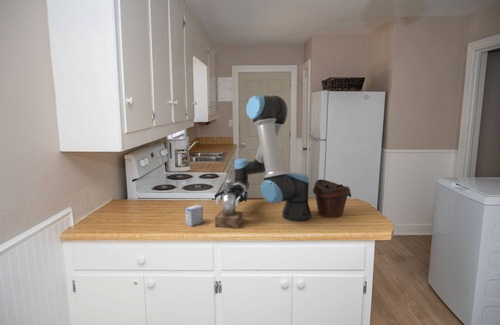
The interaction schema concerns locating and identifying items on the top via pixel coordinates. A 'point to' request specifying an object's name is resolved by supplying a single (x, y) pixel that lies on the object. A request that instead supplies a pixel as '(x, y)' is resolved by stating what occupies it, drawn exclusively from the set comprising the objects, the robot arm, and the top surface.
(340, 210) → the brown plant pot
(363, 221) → the top surface
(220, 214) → the walnut block
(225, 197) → the food tin
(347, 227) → the top surface
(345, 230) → the top surface
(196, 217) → the medicine box
